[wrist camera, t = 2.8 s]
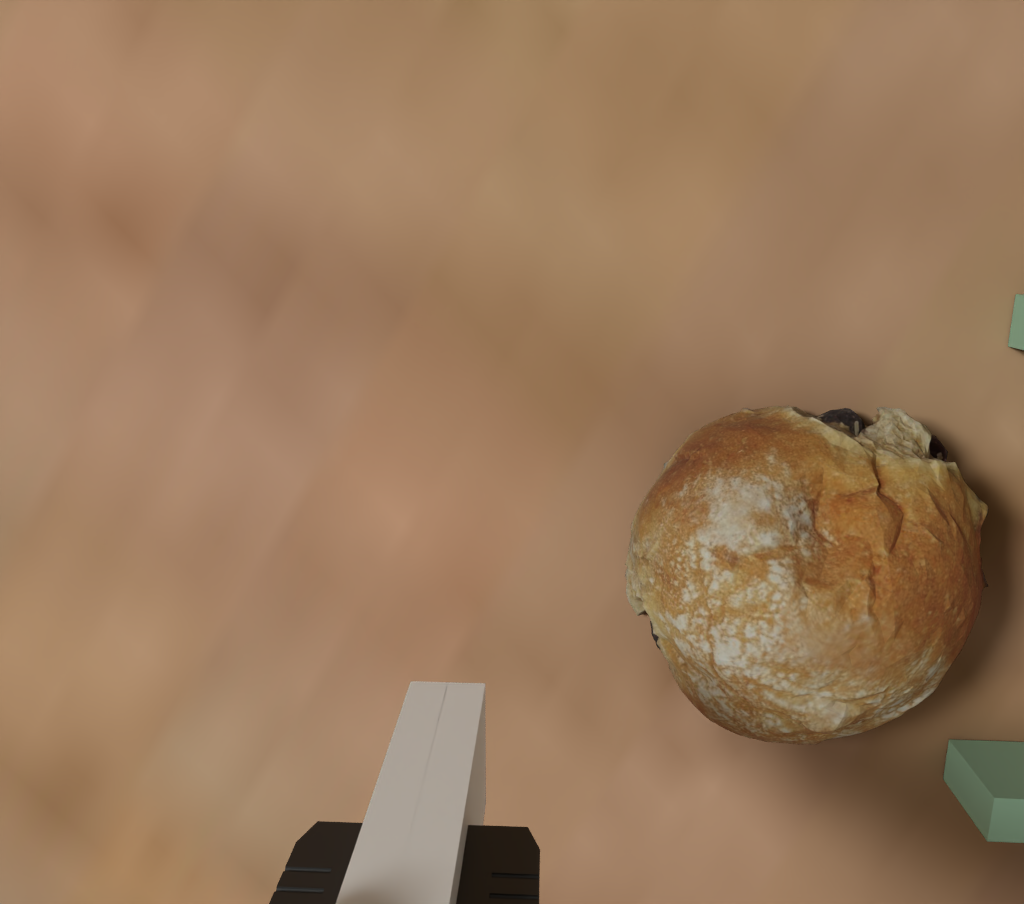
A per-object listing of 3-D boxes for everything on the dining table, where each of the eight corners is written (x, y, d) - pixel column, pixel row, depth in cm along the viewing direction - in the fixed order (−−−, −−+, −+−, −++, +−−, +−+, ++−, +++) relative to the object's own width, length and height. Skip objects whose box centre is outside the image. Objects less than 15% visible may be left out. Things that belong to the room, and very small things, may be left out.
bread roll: (607, 443, 30) (516, 569, 23) (894, 308, 24) (877, 428, 17) (748, 658, 31) (698, 831, 25) (1048, 583, 25) (1084, 784, 19)
